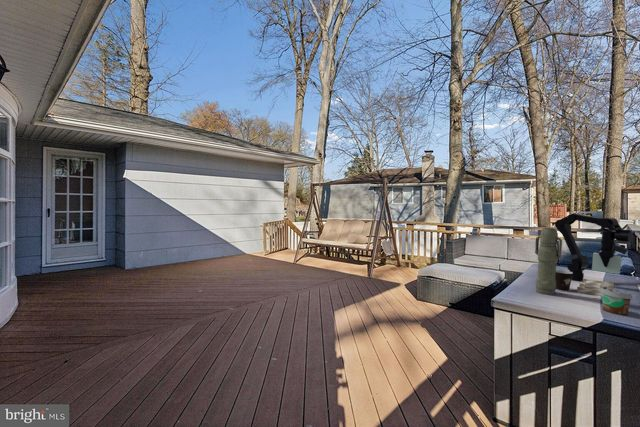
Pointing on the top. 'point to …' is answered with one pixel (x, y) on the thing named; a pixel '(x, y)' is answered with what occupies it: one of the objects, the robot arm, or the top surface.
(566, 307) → the top surface
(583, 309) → the top surface
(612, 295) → the food container
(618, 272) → the green board
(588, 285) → the offcut stack
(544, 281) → the thermos
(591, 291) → the rack
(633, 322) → the top surface
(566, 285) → the coffee mug
